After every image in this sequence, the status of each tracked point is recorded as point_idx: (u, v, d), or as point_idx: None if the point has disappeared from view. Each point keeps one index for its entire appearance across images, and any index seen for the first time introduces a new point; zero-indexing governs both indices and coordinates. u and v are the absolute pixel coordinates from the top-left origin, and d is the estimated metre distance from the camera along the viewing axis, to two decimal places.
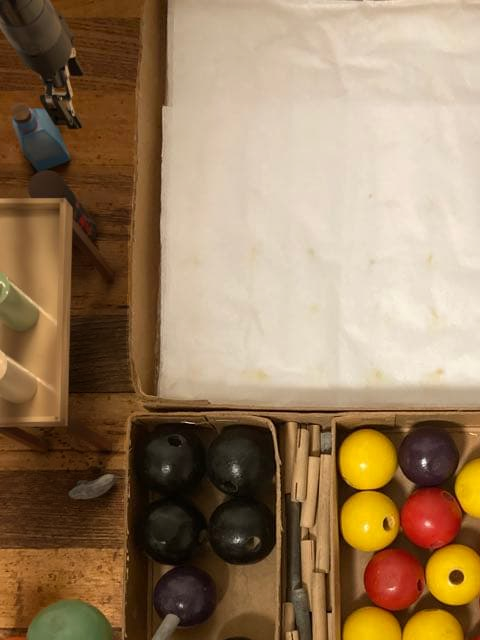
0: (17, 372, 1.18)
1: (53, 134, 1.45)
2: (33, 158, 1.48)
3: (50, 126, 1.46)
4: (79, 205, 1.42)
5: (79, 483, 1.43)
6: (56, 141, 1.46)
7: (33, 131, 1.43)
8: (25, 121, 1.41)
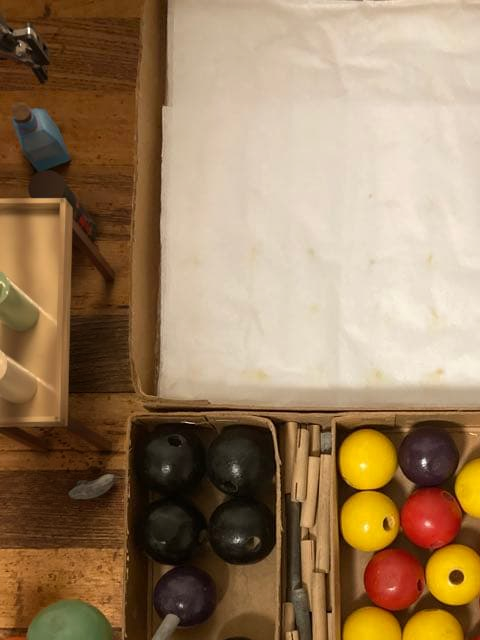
0: (17, 372, 1.18)
1: (53, 134, 1.45)
2: (33, 158, 1.48)
3: (50, 126, 1.46)
4: (79, 205, 1.42)
5: (79, 483, 1.43)
6: (56, 141, 1.46)
7: (33, 131, 1.43)
8: (25, 121, 1.41)
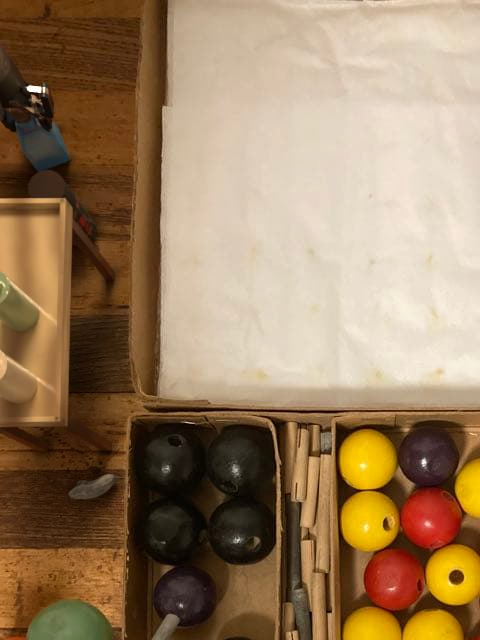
0: (17, 372, 1.18)
1: (53, 134, 1.45)
2: (33, 158, 1.48)
3: None
4: (79, 205, 1.42)
5: (79, 483, 1.43)
6: (56, 141, 1.46)
7: (33, 131, 1.43)
8: (25, 121, 1.41)
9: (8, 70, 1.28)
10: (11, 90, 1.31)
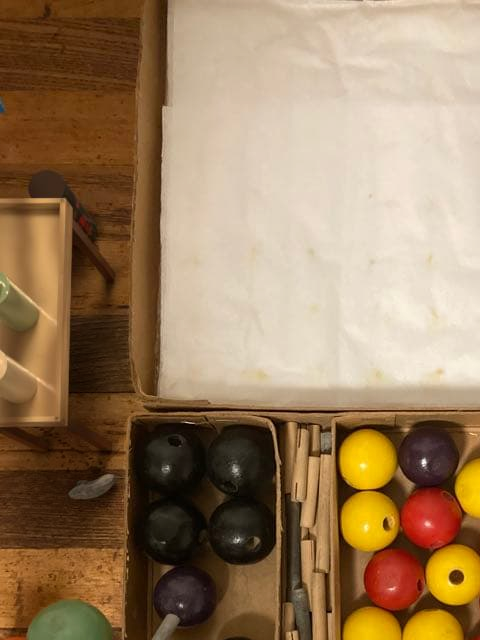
0: (17, 372, 1.18)
1: None
2: None
3: None
4: (79, 205, 1.42)
5: (79, 483, 1.43)
6: None
7: None
8: None
9: None
10: None
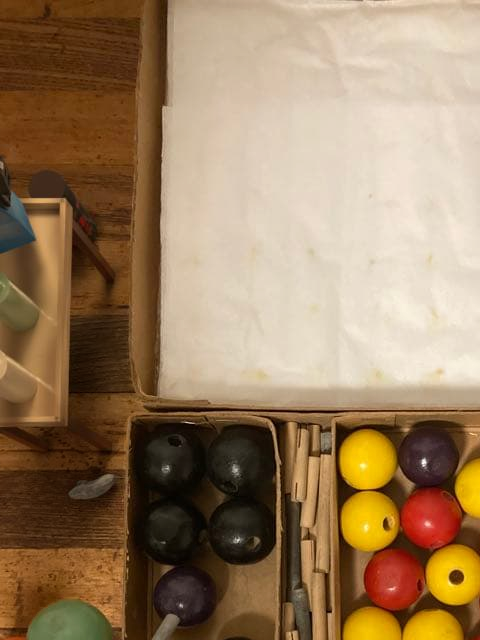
0: (17, 372, 1.18)
1: (12, 212, 1.16)
2: None
3: None
4: (79, 205, 1.42)
5: (79, 483, 1.43)
6: (16, 221, 1.16)
7: None
8: None
9: None
10: None
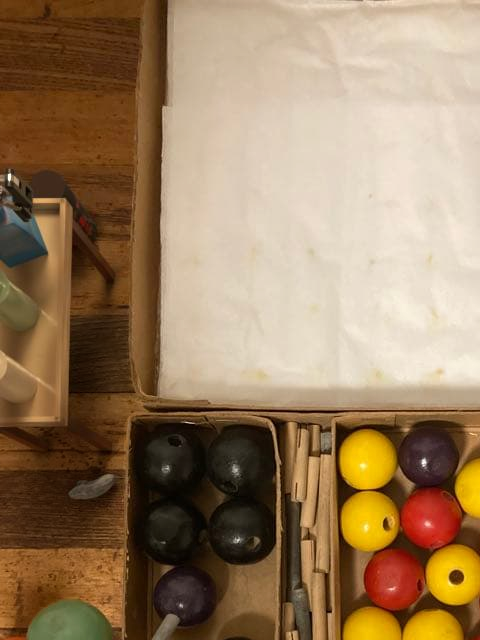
0: (17, 372, 1.18)
1: (26, 227, 1.20)
2: (2, 254, 1.22)
3: None
4: (79, 205, 1.42)
5: (79, 483, 1.43)
6: (30, 235, 1.21)
7: (1, 225, 1.18)
8: None
9: None
10: None
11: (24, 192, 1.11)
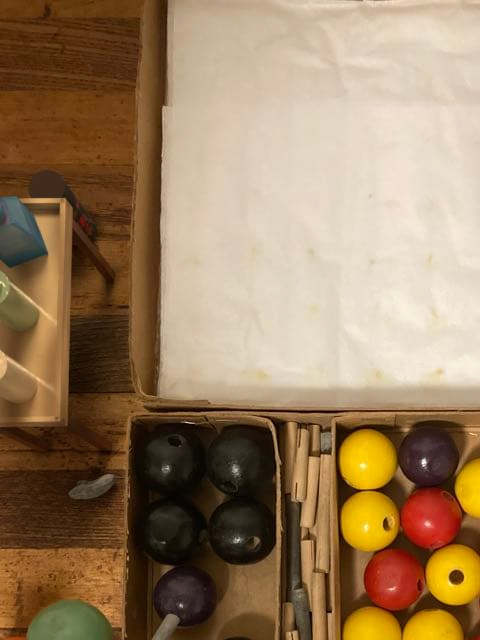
0: (17, 372, 1.18)
1: (26, 227, 1.20)
2: (2, 254, 1.22)
3: (22, 217, 1.20)
4: (79, 205, 1.42)
5: (79, 483, 1.43)
6: (30, 235, 1.21)
7: (1, 225, 1.18)
8: None
9: None
10: None
11: None
